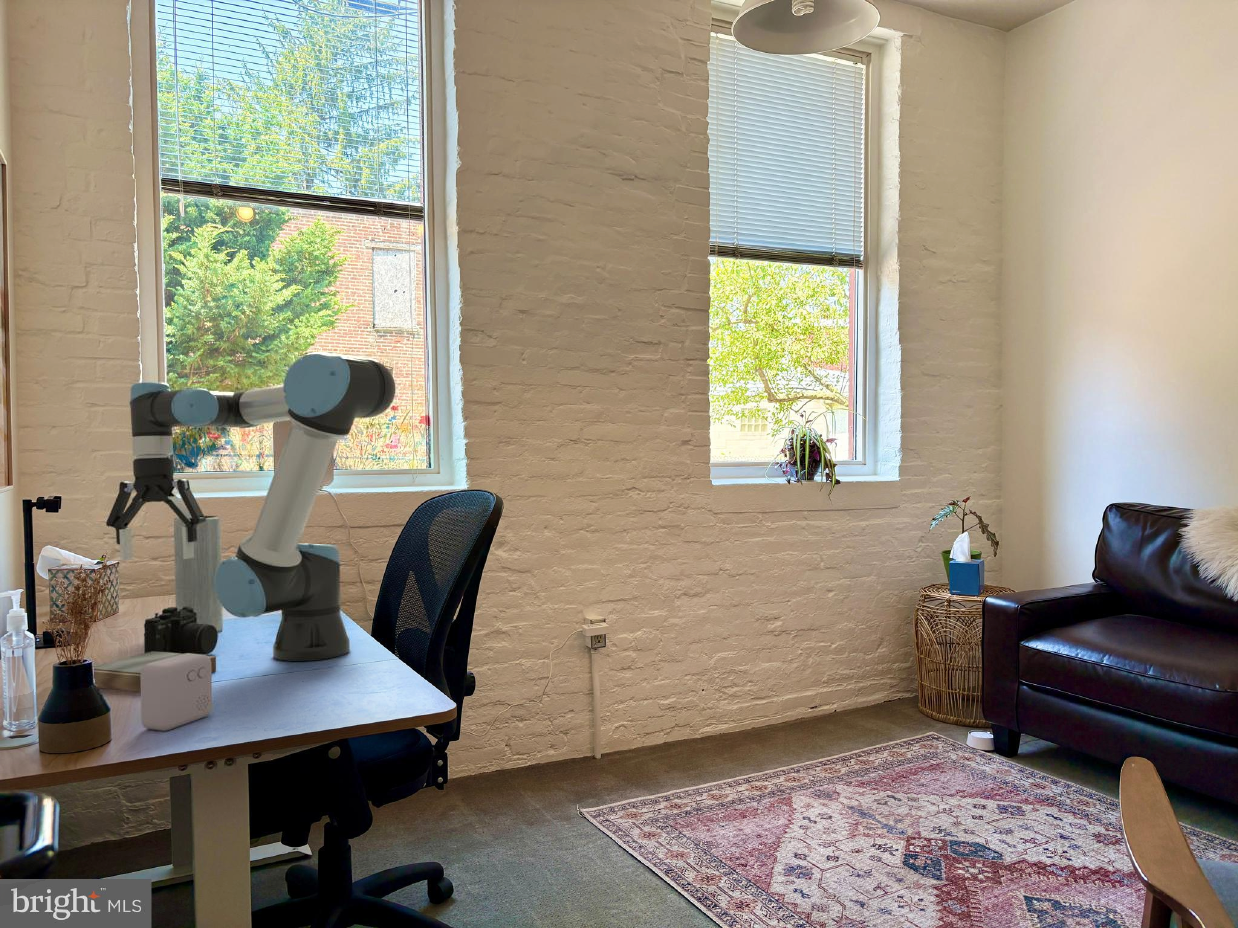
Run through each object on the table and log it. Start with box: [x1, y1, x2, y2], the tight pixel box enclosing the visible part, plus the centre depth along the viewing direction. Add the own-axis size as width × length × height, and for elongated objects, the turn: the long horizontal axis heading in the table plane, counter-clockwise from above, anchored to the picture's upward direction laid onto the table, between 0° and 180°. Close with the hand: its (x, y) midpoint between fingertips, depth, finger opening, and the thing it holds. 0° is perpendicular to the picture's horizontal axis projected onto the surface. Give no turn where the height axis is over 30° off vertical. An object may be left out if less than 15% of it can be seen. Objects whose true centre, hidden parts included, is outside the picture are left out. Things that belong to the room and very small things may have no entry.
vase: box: [173, 515, 224, 633], centre depth 212 cm, size 10×10×27 cm
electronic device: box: [140, 653, 213, 732], centre depth 141 cm, size 10×5×10 cm, turn 158°
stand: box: [93, 651, 217, 693], centre depth 169 cm, size 16×16×3 cm
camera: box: [143, 606, 219, 655], centre depth 187 cm, size 14×11×10 cm
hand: (157, 559), depth 188 cm, fingers open, 13 cm apart
